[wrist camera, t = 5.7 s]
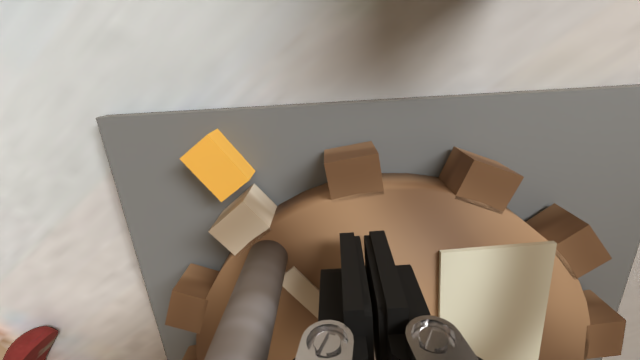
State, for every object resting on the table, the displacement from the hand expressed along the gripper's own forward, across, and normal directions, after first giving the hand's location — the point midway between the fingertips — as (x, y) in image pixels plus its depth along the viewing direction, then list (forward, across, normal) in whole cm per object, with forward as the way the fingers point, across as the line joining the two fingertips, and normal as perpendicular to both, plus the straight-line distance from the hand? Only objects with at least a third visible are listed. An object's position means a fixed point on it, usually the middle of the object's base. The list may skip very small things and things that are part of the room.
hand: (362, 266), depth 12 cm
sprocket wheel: (+4, -1, +6) cm, 8 cm away
